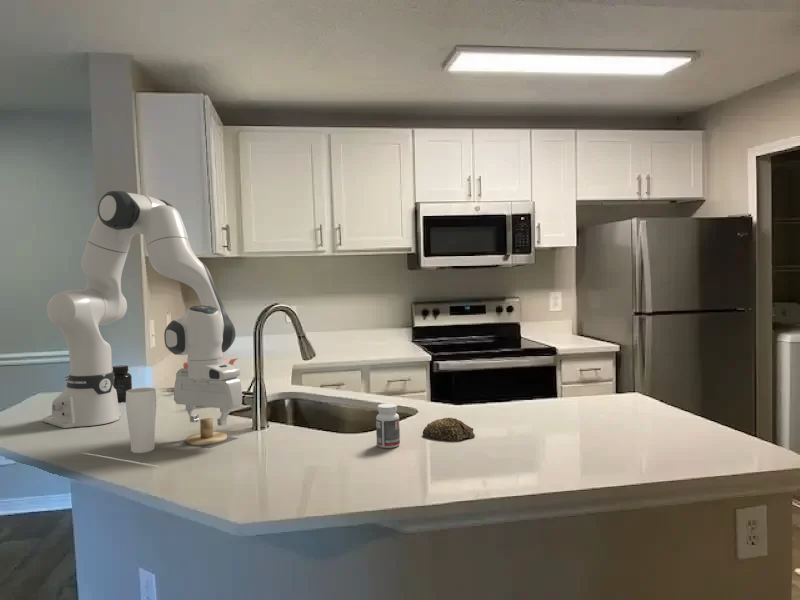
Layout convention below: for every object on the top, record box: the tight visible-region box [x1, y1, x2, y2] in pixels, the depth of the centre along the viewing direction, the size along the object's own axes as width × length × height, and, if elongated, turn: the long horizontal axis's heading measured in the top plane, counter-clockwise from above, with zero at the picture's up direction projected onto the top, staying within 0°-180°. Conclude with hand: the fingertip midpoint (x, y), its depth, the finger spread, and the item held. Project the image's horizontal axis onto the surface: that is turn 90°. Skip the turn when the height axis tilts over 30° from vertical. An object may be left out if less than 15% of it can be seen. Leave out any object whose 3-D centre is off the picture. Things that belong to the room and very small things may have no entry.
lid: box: [185, 417, 228, 447], centre depth 158 cm, size 10×10×5 cm
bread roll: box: [422, 417, 476, 442], centre depth 161 cm, size 13×12×5 cm
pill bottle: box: [375, 403, 401, 449], centre depth 152 cm, size 6×6×10 cm
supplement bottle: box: [112, 364, 133, 404], centre depth 213 cm, size 7×7×12 cm
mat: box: [174, 435, 239, 449], centre depth 158 cm, size 12×10×1 cm
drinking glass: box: [125, 387, 157, 454], centre depth 150 cm, size 7×7×15 cm
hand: (208, 423), depth 158 cm, fingers open, 8 cm apart
